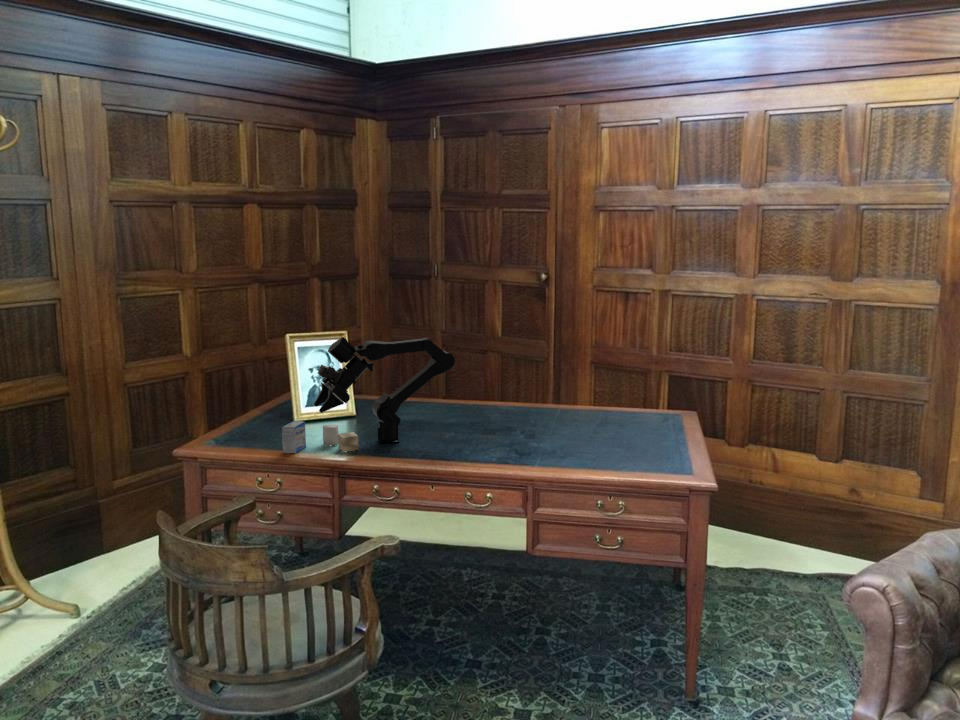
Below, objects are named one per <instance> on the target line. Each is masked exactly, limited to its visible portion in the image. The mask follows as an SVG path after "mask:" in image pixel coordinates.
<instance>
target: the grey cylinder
mask: <svg viewBox="0 0 960 720" xmlns="http://www.w3.org/2000/svg"><path fill="white" fill-rule="evenodd" d="M338 434H339V425H338V424H334V423H333V424H331V423H330V424H323V426H322V442H323V443H322V444H324V445H327V446H326V447H331V446H330V445H336V446H338V445H337V444H338ZM324 445H323V446H324Z"/></svg>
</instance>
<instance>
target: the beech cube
mask: <svg viewBox="0 0 960 720" xmlns="http://www.w3.org/2000/svg"><path fill="white" fill-rule="evenodd" d="M337 446H338V449H339V450H340V449H341V450H342V451H343V452H345V451H353V452H356V451H355V450H358V451H359V435H358V434H356V433H355V432H354V431H351V432H342V433H341V432H340V433H338V445H337ZM341 450H340V451H341ZM342 451H341V452H342ZM343 452H342V453H343ZM345 453H346V452H345Z"/></svg>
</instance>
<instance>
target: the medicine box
mask: <svg viewBox="0 0 960 720" xmlns="http://www.w3.org/2000/svg"><path fill="white" fill-rule="evenodd" d="M306 436H307V435H306V421H302V420H293V421H291V422H289V423H287V424H286V425H283V426H282V427H281V439H282V440H281V441H282V453H283V454H290V453H296V454H298V453H299V452H301V451H302V450H304V449H305V448H306V447H307V437H306ZM303 448H304V449H303ZM300 450H301V451H300ZM297 452H298V453H297Z"/></svg>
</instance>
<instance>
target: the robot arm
mask: <svg viewBox="0 0 960 720" xmlns="http://www.w3.org/2000/svg"><path fill="white" fill-rule="evenodd" d="M327 352H328V353H329V354H330V355H331V356H332V357H333V358H335V360H337V361H338V362H339V364H343V363H345V365H344V366H343V367H340V368H338V369H337V370H336V368H335V367H332V366H330V365H329V366H326V365H324V364H320V367H319V369H318V372H317V373H316V374H318V376H320V377H321V378H322V379H321V382H320V384H321V390H320V392H319V394H318V395H317V398H316V400H315V401H314V403H313V405H314V406H315V407H318V406H320V405H321V407H320V408H319V410H318V411H319V413H321V414H323V413H325V412H327V411H329V410H332V409H333V408H337V407H339V406H341V405H344V404H347V403H348V402H349V401H350V400H351V395H350V394H349V393H348V392H349V391H348V389H349V388H350V387H351V386H352V385H355V384H357V380H358V378H360V376H361V375H362V374H363V373H364V372H365V371H366V370H369V371H370V372H372V373H373V372H374V369H373V367H374V366H373V365H374V363H373V362H375V361H378V360H381V359H385V358H387V357H389V356H392V355H398V354H407V353H409V354H410V353H415V352H417V353H418V352H425V353H426V354H427V355H428V356H429V357H430V358H429V360H428V362H427V363H426V364H425V366H424V367H423V368H422V369H420V371H418V372H417V373H416V374H415V375H413V376H412V377H410V378H409V379H408V380H407V381H405V383H403V384H402V385H401V386H400V387H399V388H397V389H396V390H395V391H394V392H393V393H391V394H387V393H386V392H383V393H382V394H381V395H380V396H379V397H378V398H376V399H374V401H375V402H373V404H372V407H371V408H372V409H371V410H372V413H373V415H375V416H376V417H377V418H378V420H379V422H378V423H379V425H378V426H377V440H378V441H379V442H380V441H381V442H393V441H395V440H399V441H400V434H399V431H400V430H399V425H400V423H401V418H400V417H399V416H398V415H397V412H399V409H400V407H401V406H402V404H403V403H404V402H405V401H407V399H409V398H410V397H412V396H413V395H414V394H415V393H416V392H417V391H419V390H420V389H421V388H422V387H424V386H425V385H426V384H427V383H429V381H431V380H432V379H434V378H435V377H437V376H439V375H441V374H444V373H446V372H448V371H449V370H451V369H453V367H454V366H455V362H456V360H455V357H454V355H453V354H452V353H450V352H447V351H445V350H443V349H442V348H440V347H439V346H437V345H436V343H434V342H433V341H432V340H431V339H430V338H428V337H422V338H417V339H416V338H414V339H407V340H406V339H405V340H398V341H396V340H395V341H390V342H389V341H381V340H380V341H379V340H366V341H364V342H363V344H358V345H352V344H351V343H350V342H349V341H348V340H347V339H346V337H345V336H341V337H340V338H339V339H337V340H336V341H335V342H333V343H332V344H331V345H330V346H329V347H328V350H327ZM356 354H357V355H356ZM358 356H361V357H358ZM365 358H366V359H367V360H368V361H370V362H368V361H367V360H366V359H365ZM372 361H373V362H372Z"/></svg>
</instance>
